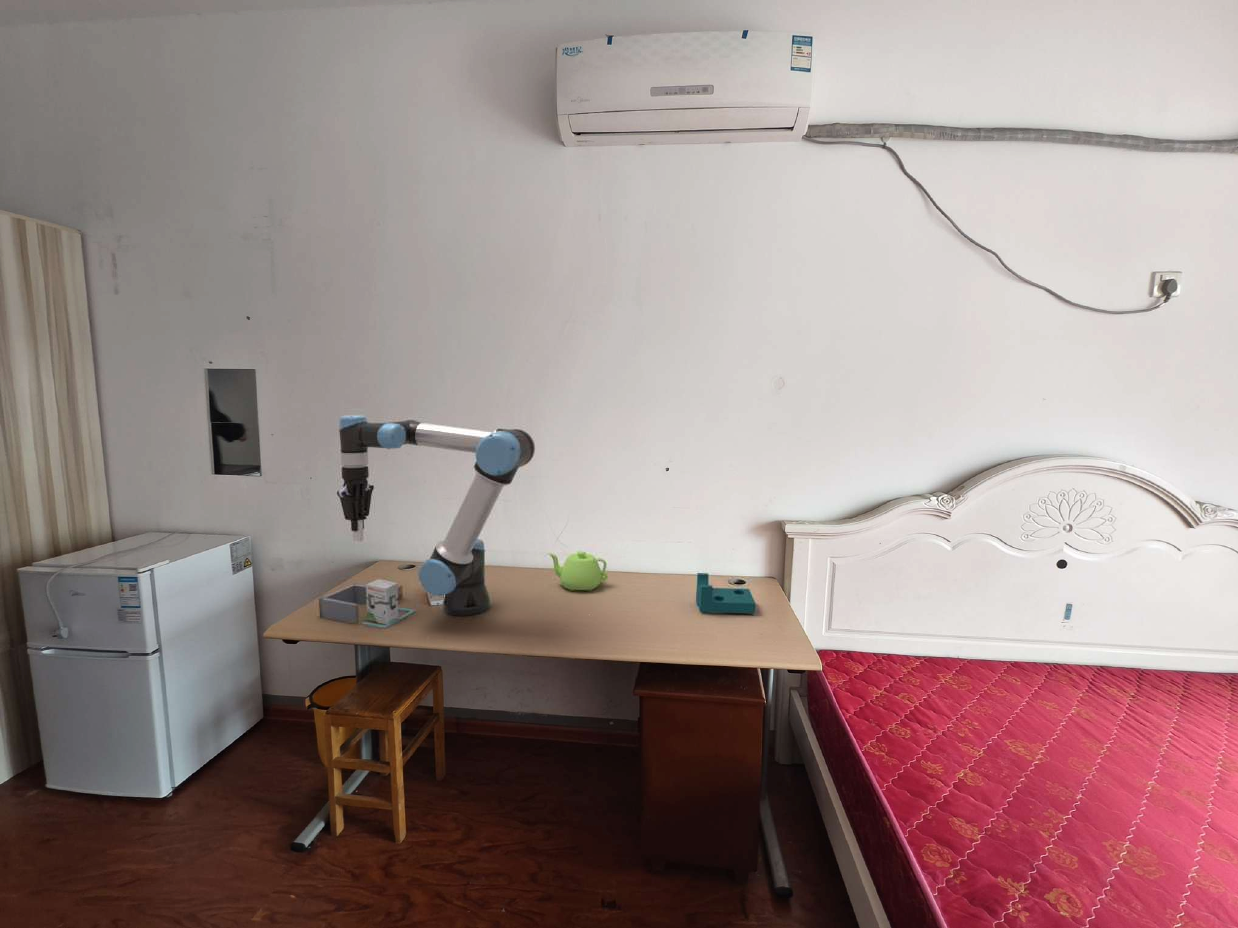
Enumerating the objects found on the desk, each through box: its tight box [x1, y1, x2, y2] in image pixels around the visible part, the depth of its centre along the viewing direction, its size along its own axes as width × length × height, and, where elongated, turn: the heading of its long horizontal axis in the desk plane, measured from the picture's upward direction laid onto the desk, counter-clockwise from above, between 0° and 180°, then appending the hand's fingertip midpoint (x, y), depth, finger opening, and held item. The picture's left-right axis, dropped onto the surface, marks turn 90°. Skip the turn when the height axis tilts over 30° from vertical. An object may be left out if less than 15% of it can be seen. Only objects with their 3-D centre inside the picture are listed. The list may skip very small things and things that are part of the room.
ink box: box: [365, 578, 399, 625], centre depth 176 cm, size 9×5×12 cm, turn 68°
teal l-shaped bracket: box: [695, 572, 757, 614], centre depth 191 cm, size 18×11×10 cm, turn 90°
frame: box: [362, 606, 417, 630], centre depth 178 cm, size 8×14×1 cm, turn 161°
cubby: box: [318, 583, 367, 625], centre depth 182 cm, size 14×14×6 cm
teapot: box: [547, 550, 608, 592], centre depth 209 cm, size 22×15×13 cm
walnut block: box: [397, 583, 404, 603], centre depth 192 cm, size 5×5×5 cm
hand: (358, 540), depth 178 cm, fingers closed
